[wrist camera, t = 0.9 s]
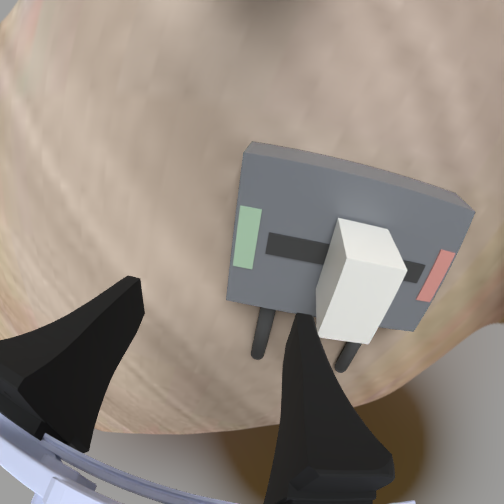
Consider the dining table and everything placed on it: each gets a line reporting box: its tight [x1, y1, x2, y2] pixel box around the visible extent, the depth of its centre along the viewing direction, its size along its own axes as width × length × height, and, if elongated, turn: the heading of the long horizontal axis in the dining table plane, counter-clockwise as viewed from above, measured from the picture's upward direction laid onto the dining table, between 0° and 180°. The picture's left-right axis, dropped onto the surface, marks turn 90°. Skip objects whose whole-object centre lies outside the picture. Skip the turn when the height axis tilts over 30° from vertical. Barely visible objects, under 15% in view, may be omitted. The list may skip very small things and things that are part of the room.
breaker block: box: [226, 141, 475, 332], centre depth 18 cm, size 14×10×3 cm
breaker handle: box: [316, 218, 407, 344], centre depth 15 cm, size 3×5×4 cm, turn 172°
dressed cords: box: [251, 307, 362, 373], centre depth 24 cm, size 9×9×1 cm
